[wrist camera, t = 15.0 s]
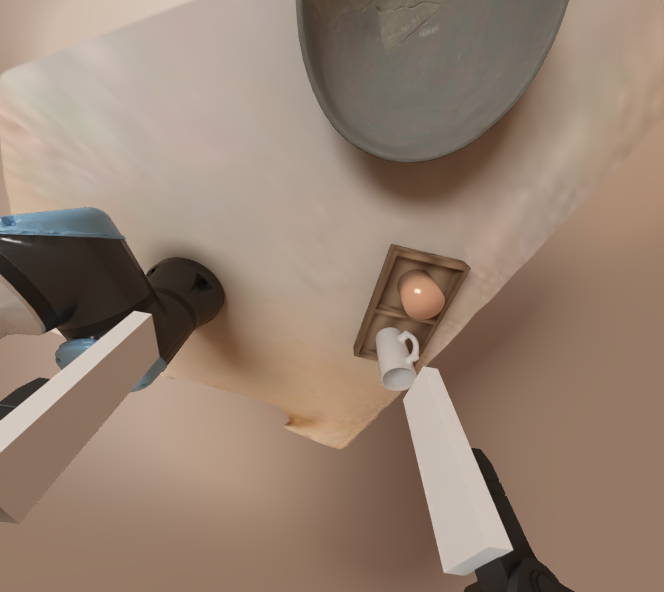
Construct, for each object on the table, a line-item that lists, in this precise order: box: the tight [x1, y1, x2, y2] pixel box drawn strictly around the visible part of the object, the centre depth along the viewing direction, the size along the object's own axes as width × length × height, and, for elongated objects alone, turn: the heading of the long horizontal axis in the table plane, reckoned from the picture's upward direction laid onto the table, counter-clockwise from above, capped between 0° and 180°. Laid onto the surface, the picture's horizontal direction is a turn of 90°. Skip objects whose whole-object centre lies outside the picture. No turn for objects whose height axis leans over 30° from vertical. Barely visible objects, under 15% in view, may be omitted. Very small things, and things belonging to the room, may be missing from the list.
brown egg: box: [397, 269, 445, 320], centre depth 48 cm, size 7×7×7 cm
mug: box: [376, 327, 419, 391], centre depth 52 cm, size 10×7×12 cm, turn 147°
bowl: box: [296, 0, 569, 163], centre depth 29 cm, size 26×26×10 cm
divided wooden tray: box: [354, 244, 471, 367], centre depth 53 cm, size 15×26×3 cm, turn 167°
